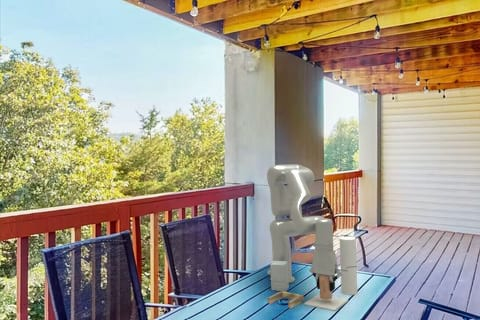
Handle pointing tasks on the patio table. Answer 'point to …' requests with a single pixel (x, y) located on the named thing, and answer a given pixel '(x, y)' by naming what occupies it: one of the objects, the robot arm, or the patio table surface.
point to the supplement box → (279, 275)
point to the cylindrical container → (348, 265)
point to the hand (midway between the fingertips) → (325, 289)
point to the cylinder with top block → (325, 287)
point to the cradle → (293, 297)
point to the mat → (326, 303)
